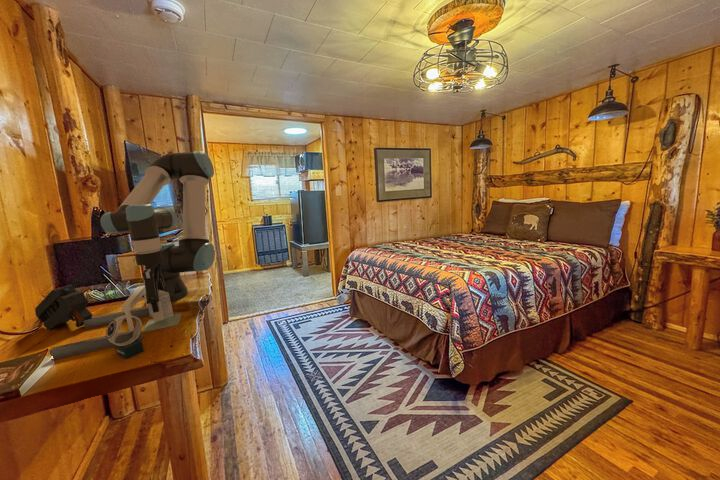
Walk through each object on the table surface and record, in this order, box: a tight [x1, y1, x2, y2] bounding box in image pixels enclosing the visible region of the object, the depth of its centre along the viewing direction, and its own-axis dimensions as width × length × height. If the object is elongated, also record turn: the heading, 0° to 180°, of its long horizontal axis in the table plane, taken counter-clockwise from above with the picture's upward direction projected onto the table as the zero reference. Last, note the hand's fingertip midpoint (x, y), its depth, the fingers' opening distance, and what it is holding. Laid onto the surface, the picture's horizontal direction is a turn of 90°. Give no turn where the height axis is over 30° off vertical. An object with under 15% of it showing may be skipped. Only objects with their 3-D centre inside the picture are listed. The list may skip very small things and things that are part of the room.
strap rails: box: [48, 306, 151, 360], centre depth 98 cm, size 21×24×3 cm
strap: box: [120, 282, 148, 332], centre depth 100 cm, size 2×24×9 cm, turn 24°
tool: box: [34, 284, 93, 331], centre depth 105 cm, size 6×19×15 cm
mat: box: [142, 313, 183, 334], centre depth 103 cm, size 10×10×1 cm
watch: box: [105, 315, 145, 360], centre depth 83 cm, size 6×8×11 cm
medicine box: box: [145, 290, 174, 321], centre depth 102 cm, size 8×4×9 cm, turn 56°
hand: (161, 315), depth 102 cm, fingers closed on medicine box, 9 cm apart
